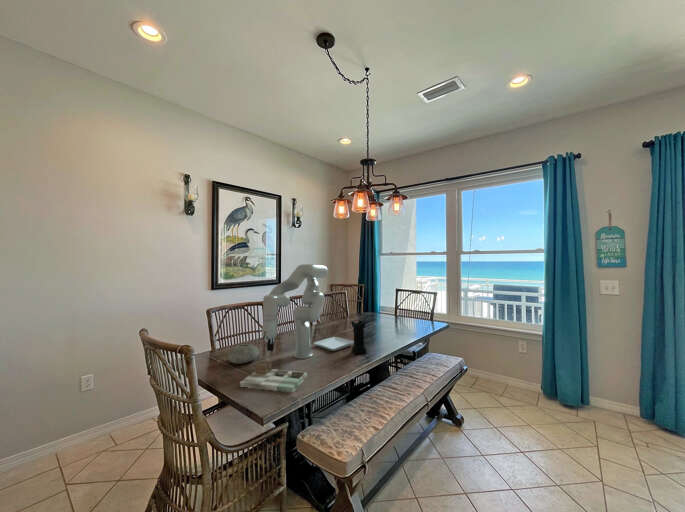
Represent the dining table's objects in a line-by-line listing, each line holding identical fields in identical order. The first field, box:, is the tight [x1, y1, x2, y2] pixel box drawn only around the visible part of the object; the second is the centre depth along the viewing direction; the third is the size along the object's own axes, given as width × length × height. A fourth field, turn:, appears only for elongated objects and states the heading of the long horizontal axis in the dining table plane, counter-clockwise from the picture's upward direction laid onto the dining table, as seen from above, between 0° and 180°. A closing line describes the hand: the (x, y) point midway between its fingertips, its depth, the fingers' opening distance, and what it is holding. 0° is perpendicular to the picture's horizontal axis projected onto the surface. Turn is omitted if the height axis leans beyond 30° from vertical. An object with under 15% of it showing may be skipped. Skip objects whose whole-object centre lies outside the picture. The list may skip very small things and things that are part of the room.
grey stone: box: [227, 343, 259, 365], centre depth 173 cm, size 18×18×10 cm
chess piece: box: [350, 320, 368, 356], centre depth 184 cm, size 8×8×20 cm
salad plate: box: [313, 336, 354, 352], centre depth 199 cm, size 21×21×3 cm
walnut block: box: [254, 359, 273, 375], centre depth 150 cm, size 6×6×5 cm
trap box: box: [239, 368, 308, 394], centre depth 144 cm, size 18×28×2 cm, turn 75°
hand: (270, 350), depth 158 cm, fingers closed
